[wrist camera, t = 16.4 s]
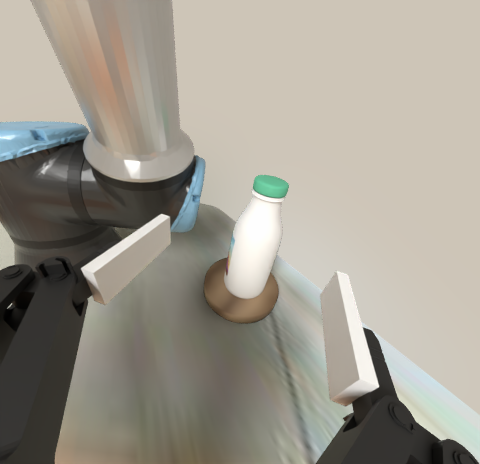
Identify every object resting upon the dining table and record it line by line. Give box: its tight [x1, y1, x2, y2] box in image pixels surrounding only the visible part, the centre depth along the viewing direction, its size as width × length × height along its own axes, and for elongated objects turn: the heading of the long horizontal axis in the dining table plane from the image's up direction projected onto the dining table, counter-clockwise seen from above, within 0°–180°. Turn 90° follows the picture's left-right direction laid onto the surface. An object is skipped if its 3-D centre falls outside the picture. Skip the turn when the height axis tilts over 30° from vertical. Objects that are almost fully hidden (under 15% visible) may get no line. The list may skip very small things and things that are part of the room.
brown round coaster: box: [204, 258, 278, 323], centre depth 36 cm, size 14×14×2 cm
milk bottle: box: [224, 175, 289, 299], centre depth 30 cm, size 8×8×20 cm
